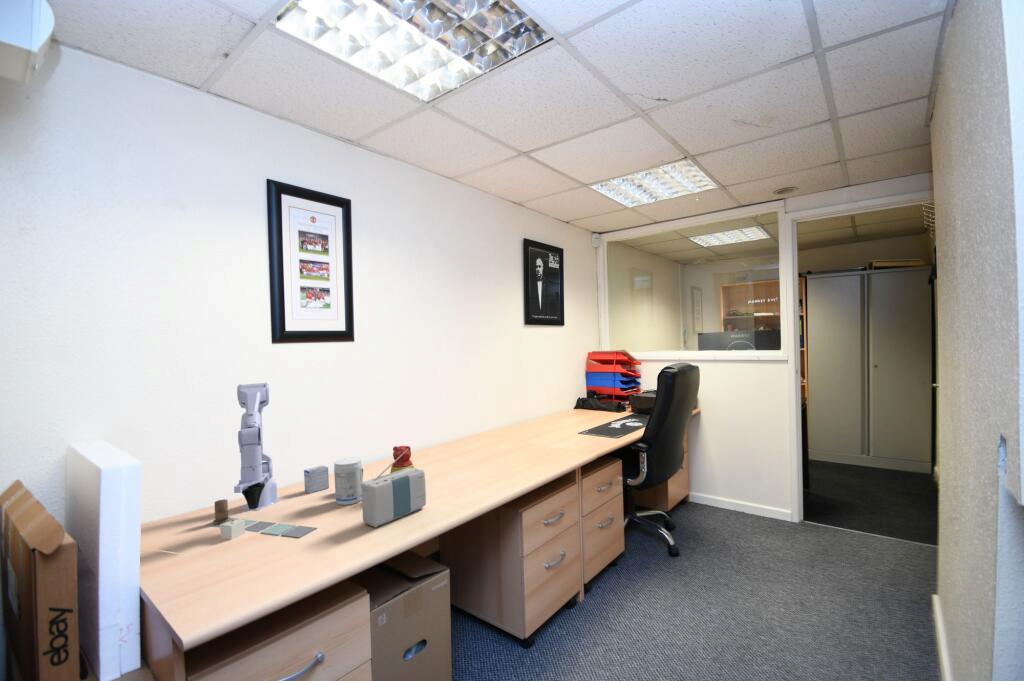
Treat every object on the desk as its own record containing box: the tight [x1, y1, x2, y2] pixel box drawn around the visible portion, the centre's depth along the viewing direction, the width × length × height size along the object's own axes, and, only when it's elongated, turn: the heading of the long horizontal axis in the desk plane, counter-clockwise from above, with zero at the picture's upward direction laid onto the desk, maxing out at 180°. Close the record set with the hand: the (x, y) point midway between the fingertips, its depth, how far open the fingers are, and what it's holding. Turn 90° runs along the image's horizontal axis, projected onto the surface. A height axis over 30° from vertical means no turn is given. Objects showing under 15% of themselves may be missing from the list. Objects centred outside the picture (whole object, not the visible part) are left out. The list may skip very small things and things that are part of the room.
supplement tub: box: [333, 456, 364, 506], centre depth 167 cm, size 10×10×15 cm
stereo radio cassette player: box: [361, 449, 427, 528], centre depth 150 cm, size 21×8×20 cm, turn 143°
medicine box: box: [303, 464, 330, 494], centre depth 181 cm, size 8×4×9 cm, turn 141°
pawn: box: [212, 498, 231, 525], centre depth 151 cm, size 5×5×7 cm
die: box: [219, 518, 246, 540], centre depth 139 cm, size 4×4×4 cm
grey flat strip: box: [204, 517, 318, 539], centre depth 145 cm, size 7×39×1 cm, turn 71°
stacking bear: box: [389, 445, 415, 474], centre depth 173 cm, size 11×10×18 cm
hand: (253, 508), depth 146 cm, fingers closed
